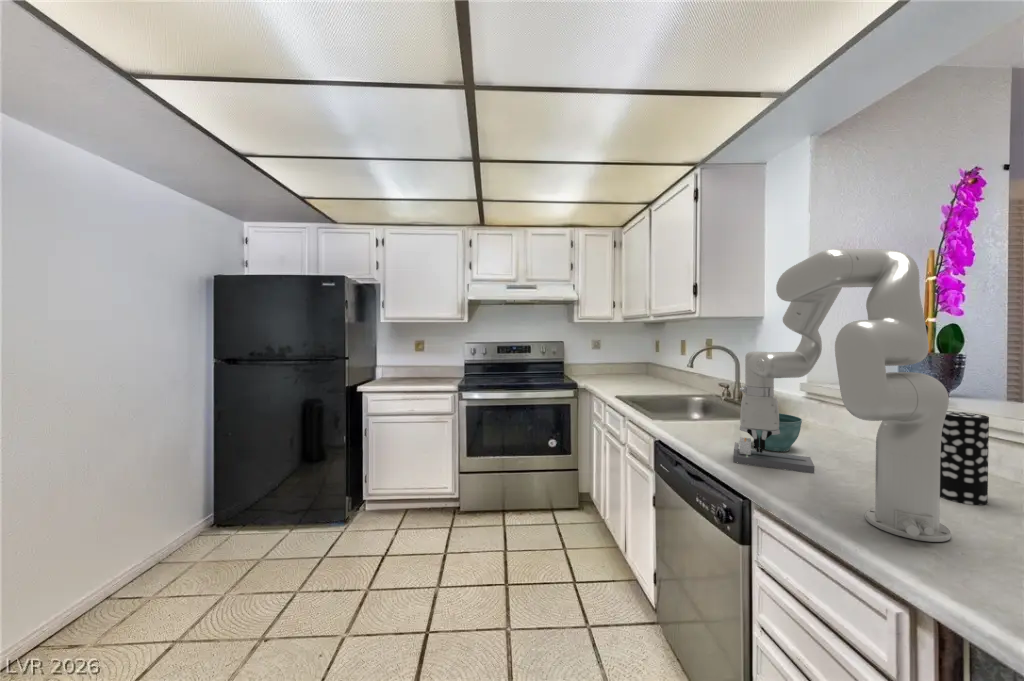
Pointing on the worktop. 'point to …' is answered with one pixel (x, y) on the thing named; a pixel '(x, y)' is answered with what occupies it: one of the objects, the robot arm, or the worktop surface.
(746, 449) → the fader knob
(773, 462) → the fader console
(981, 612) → the worktop surface
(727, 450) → the worktop surface
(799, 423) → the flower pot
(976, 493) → the white-spotted black cylinder
